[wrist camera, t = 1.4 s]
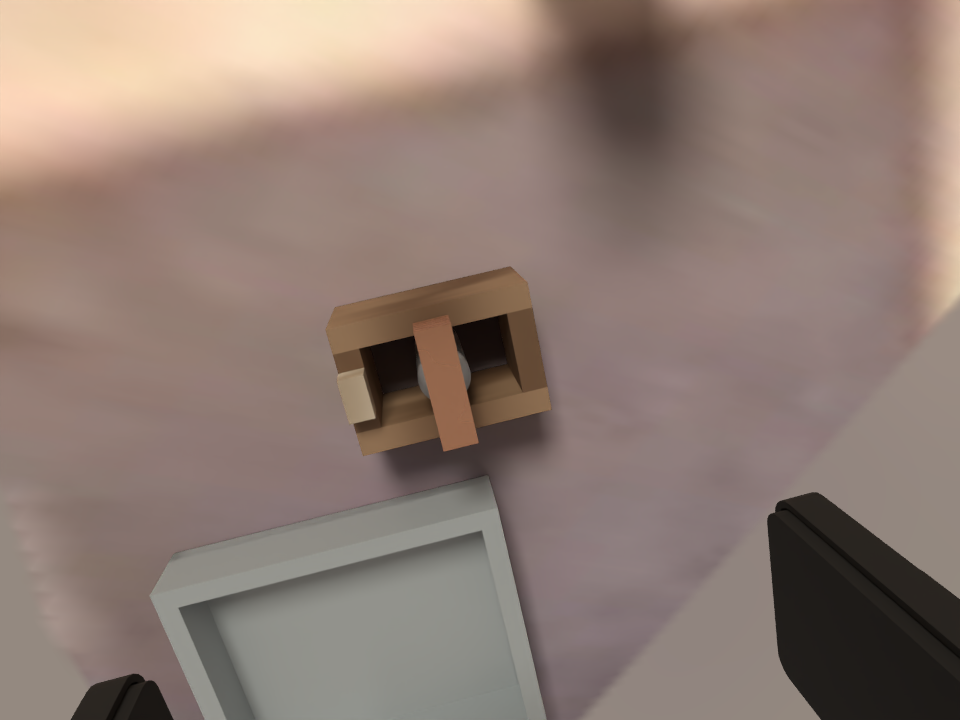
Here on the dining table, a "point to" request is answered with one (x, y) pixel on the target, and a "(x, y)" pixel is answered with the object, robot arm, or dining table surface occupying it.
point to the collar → (392, 318)
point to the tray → (357, 616)
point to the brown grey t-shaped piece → (445, 380)
